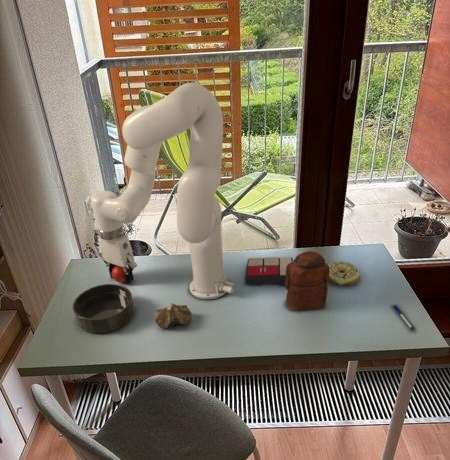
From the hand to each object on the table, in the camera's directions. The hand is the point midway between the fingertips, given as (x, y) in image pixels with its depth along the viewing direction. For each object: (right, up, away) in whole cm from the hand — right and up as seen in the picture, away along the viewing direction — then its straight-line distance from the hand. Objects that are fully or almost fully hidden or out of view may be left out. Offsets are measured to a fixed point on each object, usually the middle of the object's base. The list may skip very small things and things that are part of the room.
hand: (122, 278), depth 144 cm
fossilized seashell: (+19, -13, -18) cm, 29 cm away
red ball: (0, +2, -1) cm, 2 cm away
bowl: (-1, -11, -14) cm, 18 cm away
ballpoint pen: (+84, -12, -22) cm, 88 cm away
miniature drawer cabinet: (+49, +1, -1) cm, 49 cm away
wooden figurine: (+58, -8, -15) cm, 60 cm away
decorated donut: (+71, 0, -5) cm, 72 cm away
